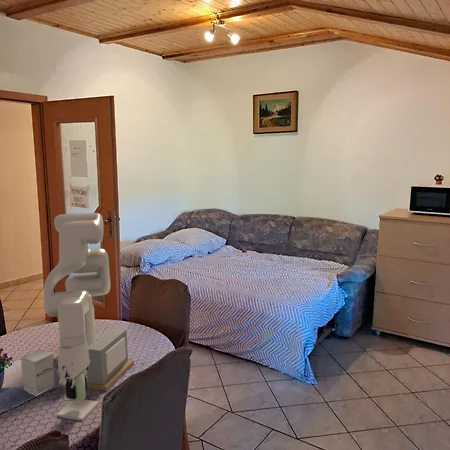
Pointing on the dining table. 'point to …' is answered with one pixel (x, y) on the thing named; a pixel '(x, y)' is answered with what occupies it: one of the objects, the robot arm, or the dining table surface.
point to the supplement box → (37, 371)
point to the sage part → (79, 387)
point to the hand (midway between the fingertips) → (77, 392)
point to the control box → (108, 360)
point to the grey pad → (78, 409)
